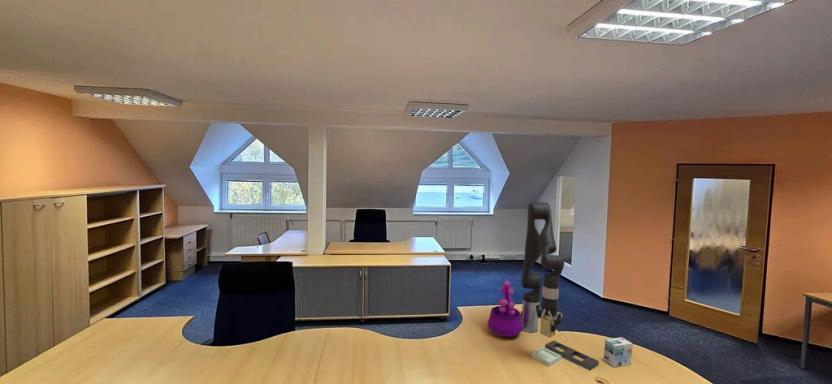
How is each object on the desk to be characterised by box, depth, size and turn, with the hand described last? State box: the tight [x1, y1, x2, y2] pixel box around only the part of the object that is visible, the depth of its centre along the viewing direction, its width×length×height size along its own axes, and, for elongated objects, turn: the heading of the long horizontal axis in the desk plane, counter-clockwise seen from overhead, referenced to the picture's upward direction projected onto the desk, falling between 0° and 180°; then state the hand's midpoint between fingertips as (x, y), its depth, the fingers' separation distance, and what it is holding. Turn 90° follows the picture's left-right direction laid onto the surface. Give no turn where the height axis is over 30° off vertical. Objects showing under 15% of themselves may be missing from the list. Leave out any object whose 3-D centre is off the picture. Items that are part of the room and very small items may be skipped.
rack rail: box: [544, 340, 600, 371], centre depth 184 cm, size 24×8×2 cm, turn 37°
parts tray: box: [530, 346, 562, 367], centre depth 181 cm, size 10×10×2 cm
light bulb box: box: [603, 336, 634, 368], centre depth 179 cm, size 11×7×11 cm, turn 105°
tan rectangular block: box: [539, 316, 556, 338], centre depth 180 cm, size 5×5×8 cm
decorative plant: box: [487, 280, 523, 338], centre depth 205 cm, size 19×18×30 cm
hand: (548, 329), depth 180 cm, fingers closed on tan rectangular block, 5 cm apart
